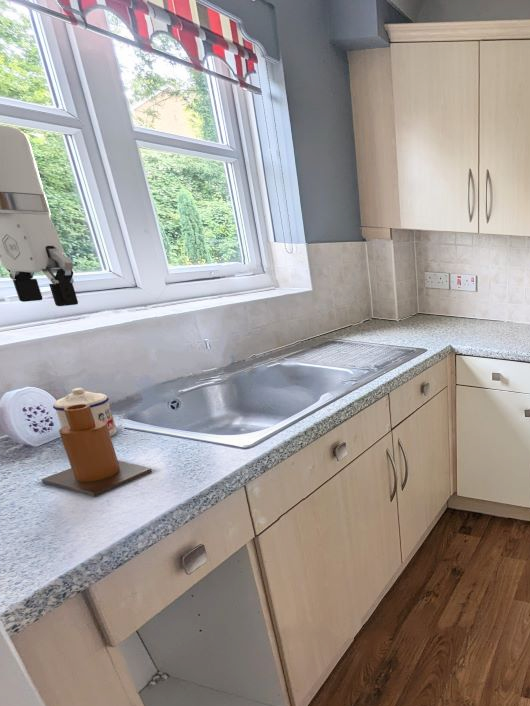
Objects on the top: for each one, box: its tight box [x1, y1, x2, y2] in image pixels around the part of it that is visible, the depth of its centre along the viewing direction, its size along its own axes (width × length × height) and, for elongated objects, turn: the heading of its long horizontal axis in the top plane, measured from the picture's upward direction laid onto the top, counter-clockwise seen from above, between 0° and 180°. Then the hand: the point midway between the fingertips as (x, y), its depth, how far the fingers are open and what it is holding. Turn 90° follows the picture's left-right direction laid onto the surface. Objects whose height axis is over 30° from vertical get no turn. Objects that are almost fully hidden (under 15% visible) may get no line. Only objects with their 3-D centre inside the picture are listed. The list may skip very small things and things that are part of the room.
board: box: [41, 460, 153, 498], centre depth 88 cm, size 14×10×1 cm
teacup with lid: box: [52, 387, 118, 438], centre depth 104 cm, size 12×9×12 cm
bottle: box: [58, 404, 120, 482], centre depth 86 cm, size 6×6×14 cm
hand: (49, 303), depth 85 cm, fingers open, 9 cm apart
